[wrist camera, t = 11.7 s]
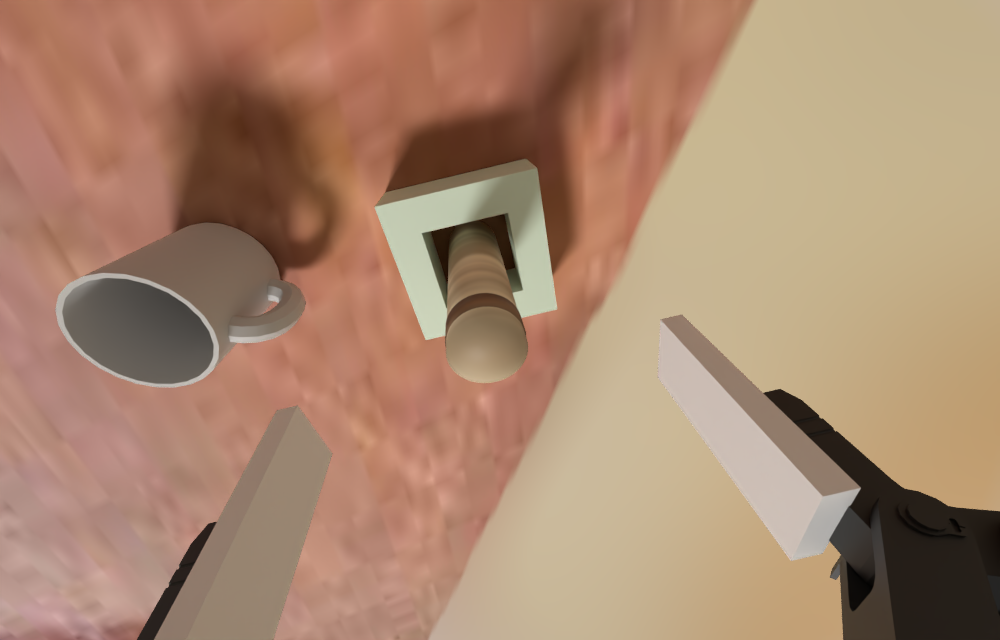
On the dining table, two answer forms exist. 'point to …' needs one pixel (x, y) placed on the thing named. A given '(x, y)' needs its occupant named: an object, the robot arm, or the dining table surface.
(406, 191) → the square block with hole
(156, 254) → the cup
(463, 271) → the striped wooden dowel
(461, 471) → the dining table surface
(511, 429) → the dining table surface
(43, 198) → the dining table surface
